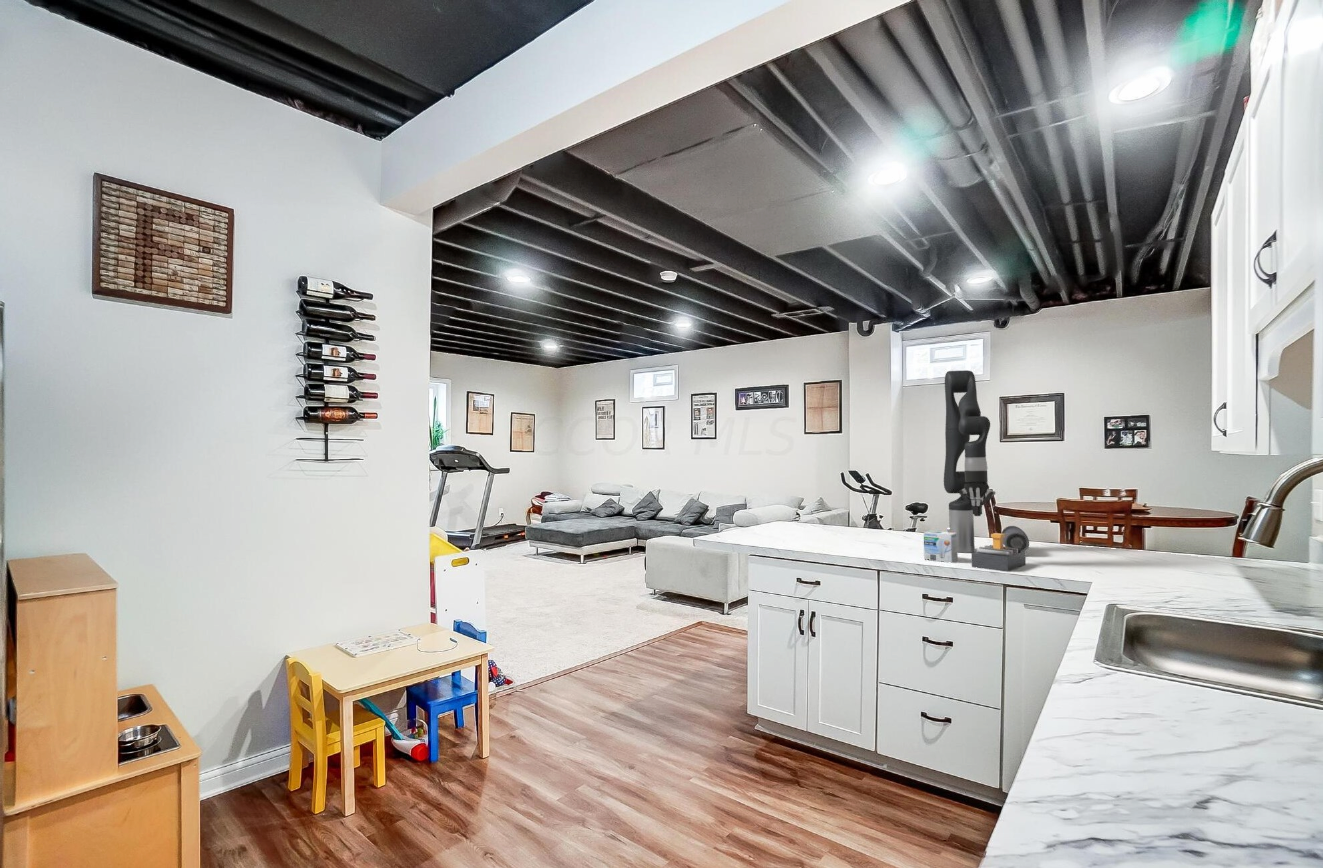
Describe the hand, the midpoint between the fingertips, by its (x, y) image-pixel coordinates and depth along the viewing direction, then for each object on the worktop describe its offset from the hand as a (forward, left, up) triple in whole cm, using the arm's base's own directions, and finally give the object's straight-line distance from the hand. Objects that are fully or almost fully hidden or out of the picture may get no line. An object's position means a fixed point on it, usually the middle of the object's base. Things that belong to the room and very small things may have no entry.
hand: (977, 515), depth 228 cm
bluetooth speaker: (0, +36, -18) cm, 40 cm away
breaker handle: (+7, 0, -12) cm, 14 cm away
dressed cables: (+7, 0, -13) cm, 15 cm away
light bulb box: (-13, -2, -18) cm, 22 cm away
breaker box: (+7, 0, -18) cm, 19 cm away
